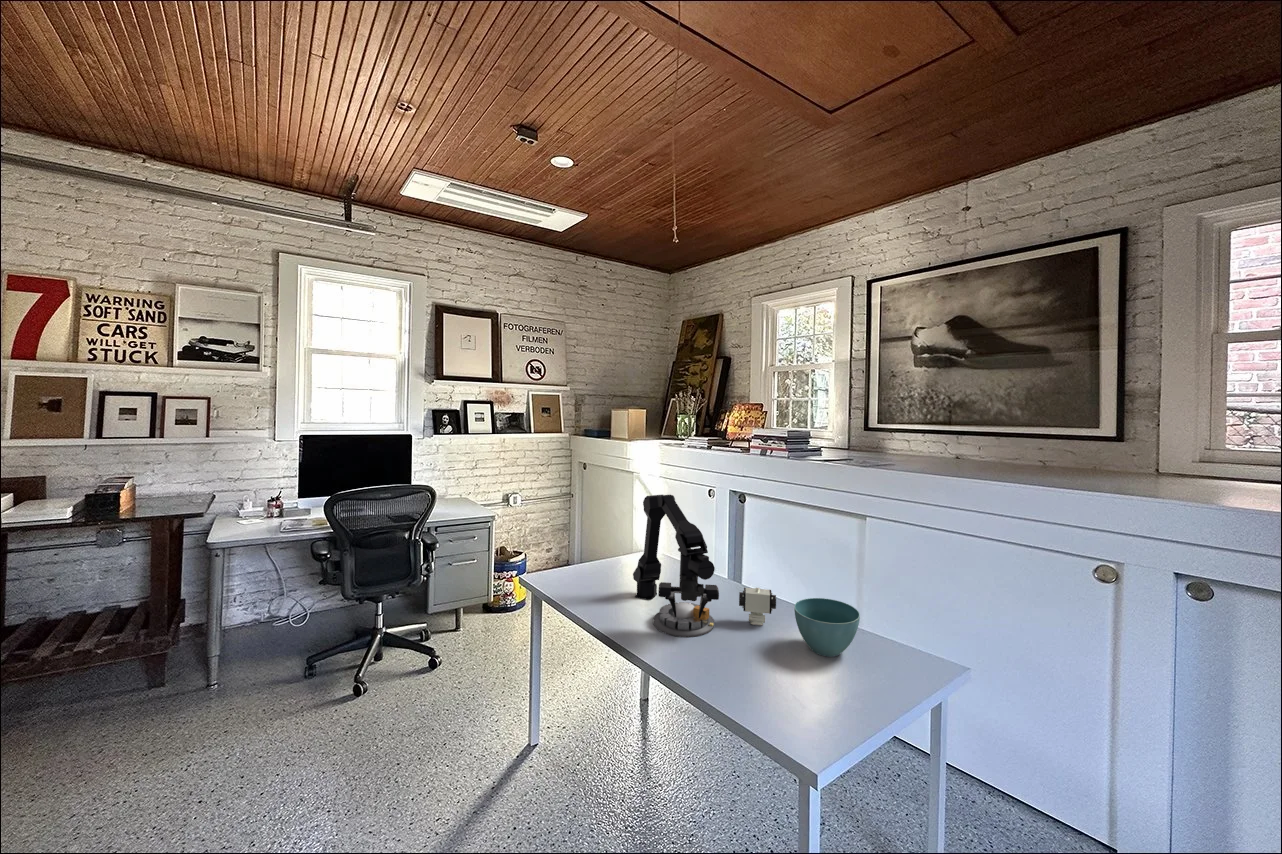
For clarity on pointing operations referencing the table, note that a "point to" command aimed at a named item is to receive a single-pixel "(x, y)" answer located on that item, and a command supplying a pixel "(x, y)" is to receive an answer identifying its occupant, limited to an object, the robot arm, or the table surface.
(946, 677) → the table surface
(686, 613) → the cap base
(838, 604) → the teal hollow rounded piece
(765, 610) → the pneumatic valve
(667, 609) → the grey toothed bowl
